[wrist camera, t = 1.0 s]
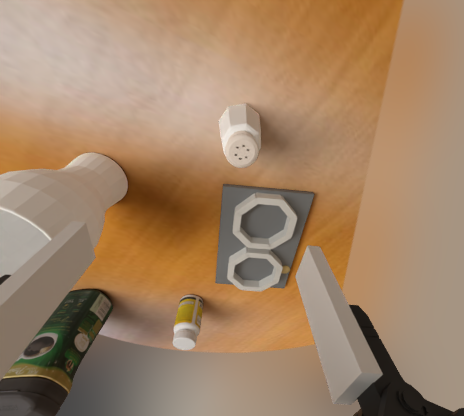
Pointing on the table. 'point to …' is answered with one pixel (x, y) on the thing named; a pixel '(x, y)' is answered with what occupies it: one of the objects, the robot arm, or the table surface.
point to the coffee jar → (54, 356)
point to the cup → (55, 204)
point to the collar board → (259, 235)
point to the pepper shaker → (240, 135)
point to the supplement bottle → (188, 322)
